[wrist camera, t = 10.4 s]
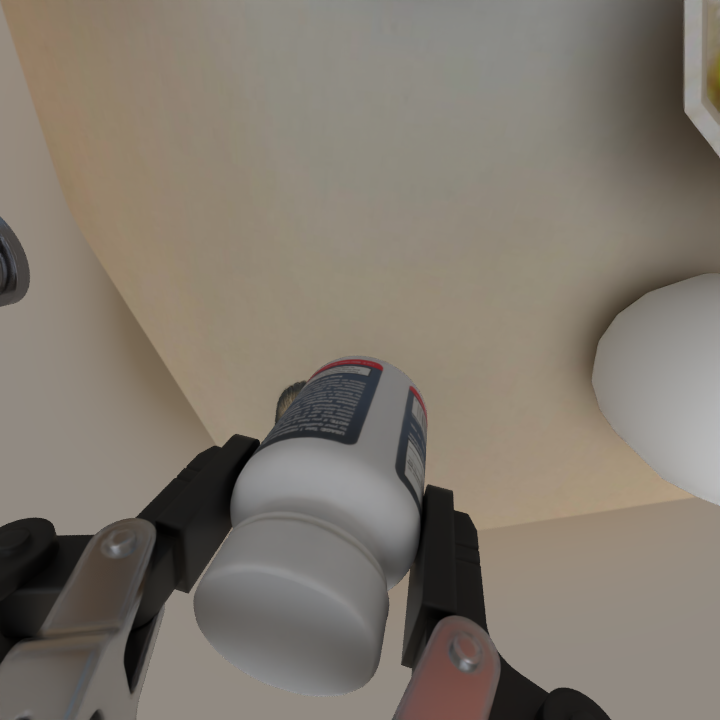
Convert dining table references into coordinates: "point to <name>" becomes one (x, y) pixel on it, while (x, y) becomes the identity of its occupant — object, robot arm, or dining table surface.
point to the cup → (667, 382)
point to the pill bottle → (321, 532)
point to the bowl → (702, 67)
